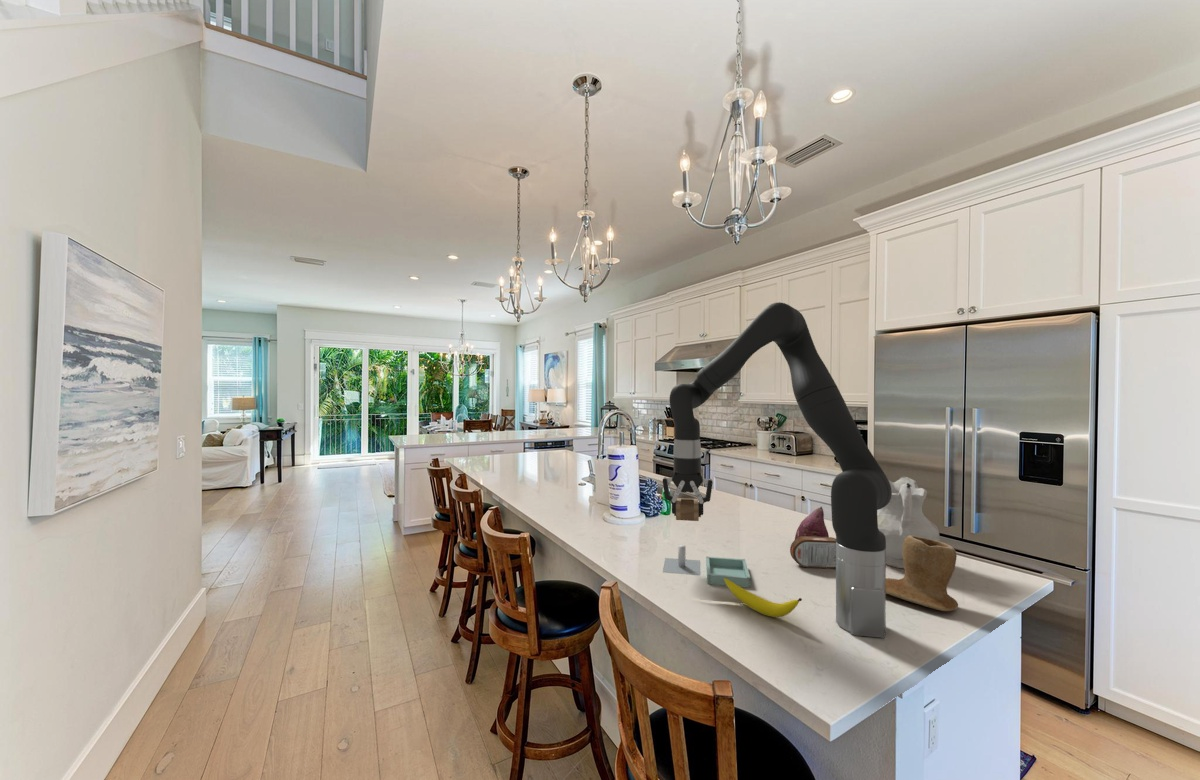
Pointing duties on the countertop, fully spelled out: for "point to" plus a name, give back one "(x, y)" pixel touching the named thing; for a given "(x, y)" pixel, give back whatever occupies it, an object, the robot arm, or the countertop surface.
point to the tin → (814, 552)
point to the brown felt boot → (925, 574)
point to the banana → (761, 602)
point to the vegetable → (813, 525)
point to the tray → (727, 571)
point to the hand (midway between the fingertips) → (687, 515)
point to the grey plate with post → (681, 564)
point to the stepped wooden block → (687, 509)
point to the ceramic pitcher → (904, 519)
